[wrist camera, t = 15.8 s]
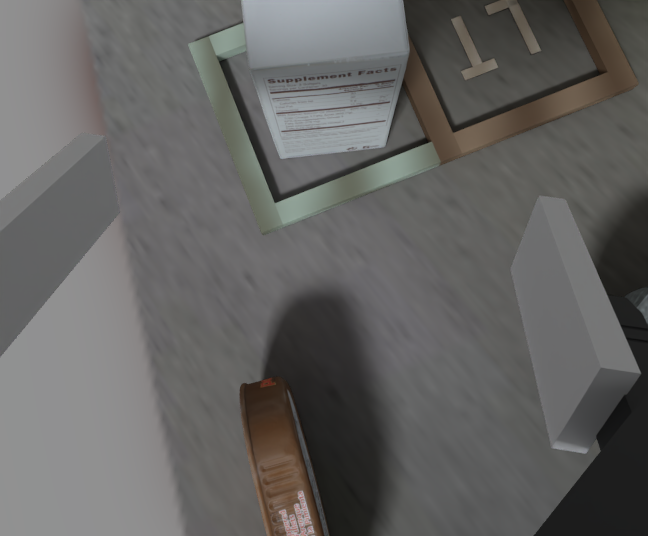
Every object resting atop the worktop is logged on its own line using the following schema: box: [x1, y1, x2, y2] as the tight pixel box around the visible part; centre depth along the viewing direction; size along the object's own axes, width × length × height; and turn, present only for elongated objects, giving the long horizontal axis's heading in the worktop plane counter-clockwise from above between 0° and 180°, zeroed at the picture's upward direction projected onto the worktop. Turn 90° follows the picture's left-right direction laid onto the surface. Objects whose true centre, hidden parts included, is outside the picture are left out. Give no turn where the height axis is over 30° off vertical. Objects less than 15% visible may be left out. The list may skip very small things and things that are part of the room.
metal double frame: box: [188, 0, 639, 235], centre depth 35 cm, size 26×14×1 cm, turn 112°
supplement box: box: [241, 0, 410, 159], centre depth 30 cm, size 7×7×13 cm
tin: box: [240, 377, 330, 536], centre depth 29 cm, size 15×3×8 cm, turn 15°
